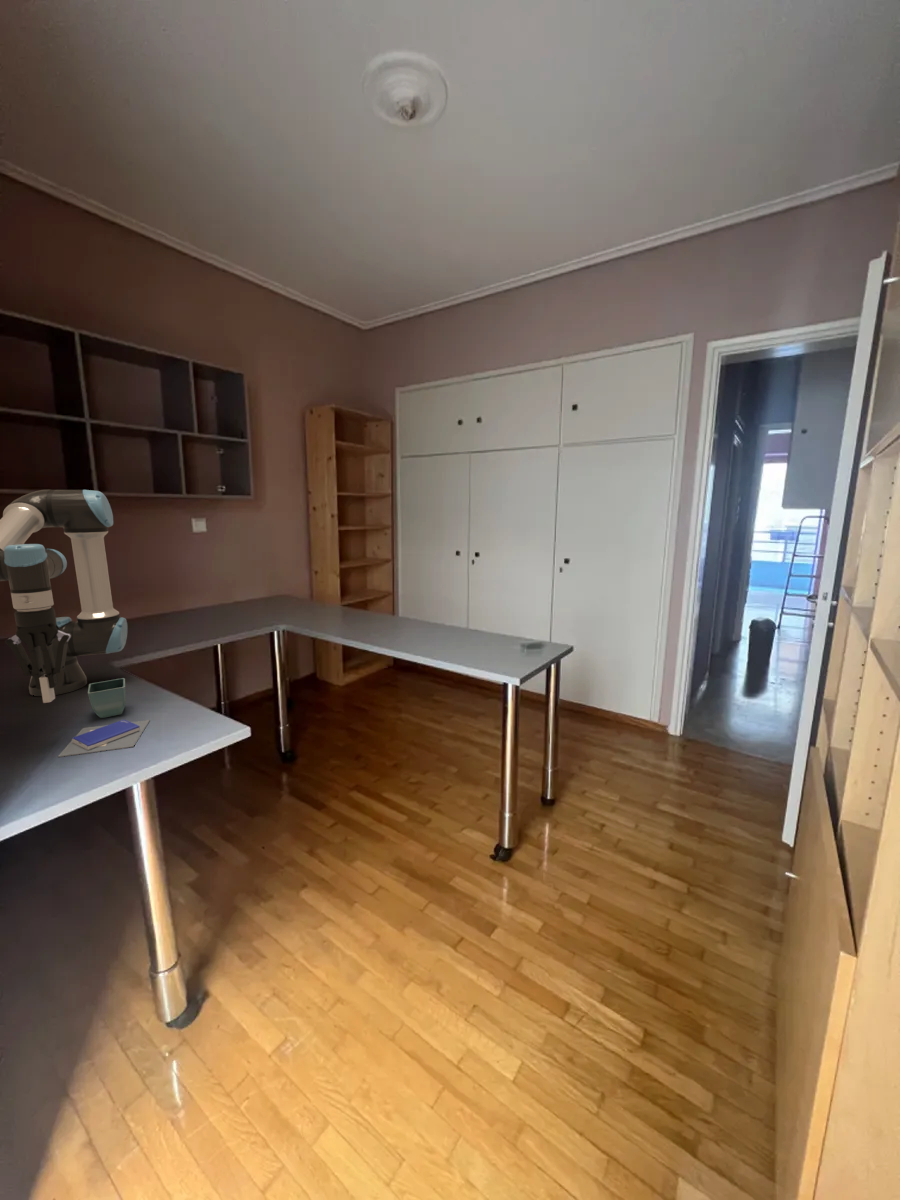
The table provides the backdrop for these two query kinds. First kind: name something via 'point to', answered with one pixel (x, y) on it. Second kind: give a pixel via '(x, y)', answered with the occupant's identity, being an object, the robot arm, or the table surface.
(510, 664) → the table surface
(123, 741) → the letter card
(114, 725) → the blue book
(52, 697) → the robot arm
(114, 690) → the flower pot
